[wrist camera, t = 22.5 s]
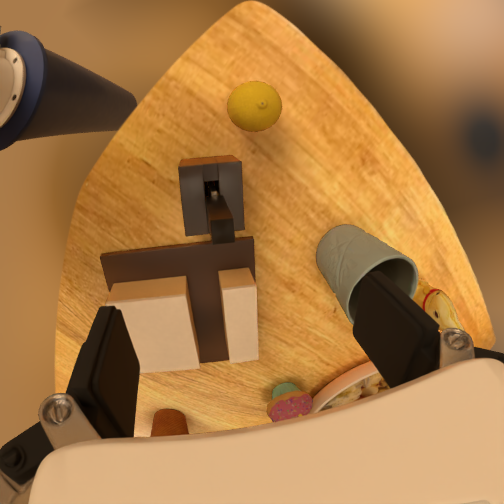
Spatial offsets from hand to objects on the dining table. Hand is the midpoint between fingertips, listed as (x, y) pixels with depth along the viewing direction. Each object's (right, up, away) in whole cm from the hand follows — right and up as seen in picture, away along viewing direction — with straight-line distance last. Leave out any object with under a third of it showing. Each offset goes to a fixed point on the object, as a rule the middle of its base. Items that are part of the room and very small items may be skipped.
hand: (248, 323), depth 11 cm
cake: (-13, -6, +28) cm, 32 cm away
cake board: (-9, -6, +30) cm, 32 cm away
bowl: (+24, -31, +48) cm, 62 cm away
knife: (-5, +10, +24) cm, 26 cm away
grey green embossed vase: (+13, +3, +31) cm, 34 cm away
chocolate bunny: (+30, -6, +38) cm, 49 cm away
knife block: (-5, +11, +24) cm, 26 cm away
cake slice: (-2, -5, +30) cm, 30 cm away
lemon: (0, +19, +21) cm, 28 cm away
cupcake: (+6, -24, +41) cm, 48 cm away
